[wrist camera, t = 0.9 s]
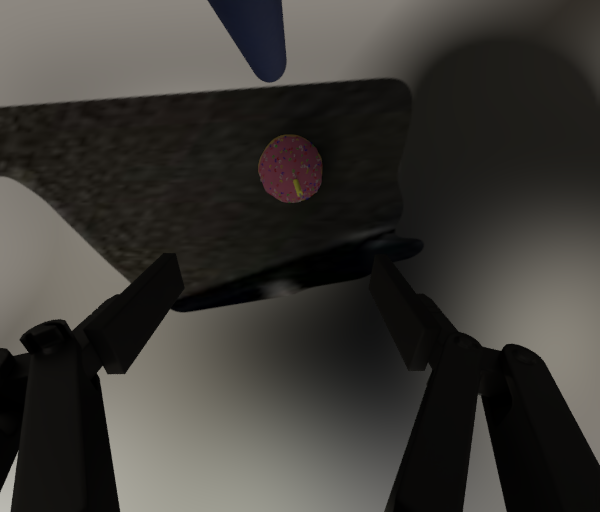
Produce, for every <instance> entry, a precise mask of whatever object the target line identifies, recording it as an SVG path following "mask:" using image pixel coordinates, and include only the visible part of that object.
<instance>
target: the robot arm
mask: <svg viewBox="0 0 600 512" xmlns="http://www.w3.org/2000/svg"><path fill="white" fill-rule="evenodd" d="M183 290H184V284H183V280H182V276H181V273H180V269H179V265H178V261H177V257H176V253H163V254H162V255H161V256H160V257H159V258H158V259H157V260H156V261H155V262H154V263H153V264H152V265H151V266H150V267H148V268H147V269H146V270H145V271H144V272H143V273H142V274H141V275H140V276H139V277H138V278H137V279H136V280H135V281H134V282H133V283H131V284H130V285H129V286H128V287H127V288H126V289H125V290H124V291H123V292H122V293H121V294H117V295H114V296H113V297H111V298H109V299H107V300H106V301H105V302H104V303H102V304H101V305H100V306H99V307H98V309H96V310H95V311H94V312H93V313H92V314H91V315H89V316H88V317H87V318H86V319H85V320H84V321H83V322H81V323H80V324H79V325H78V326H77V327H76V328H75V329H74V330H73V331H71V329H70V328H69V326H68V324H67V323H66V321H65V320H61V319H60V320H51V321H47V322H44V323H42V324H39V325H37V326H35V327H33V328H31V329H30V330H28V331H27V332H26V333H24V334H23V335H22V337H21V338H20V341H21V343H22V344H23V345H24V346H25V348H26V349H27V351H28V352H29V353H25V354H21V355H16V356H13V355H12V354H11V353H10V352H9V351H8V350H7V349H4V348H0V492H1V489H2V487H3V485H4V482H5V480H6V478H7V475H8V473H9V471H10V468H11V466H12V464H13V462H14V459H15V457H16V454H17V452H18V459H17V466H16V475H15V483H14V490H13V498H12V505H11V512H120V508H119V501H118V495H117V488H116V482H115V475H114V469H113V463H112V456H111V449H110V443H109V437H108V430H107V424H106V417H105V411H104V404H103V398H102V391H101V385H100V378H99V376H98V375H97V372H98V371H99V370H100V368H101V367H102V366H104V368H105V370H106V372H107V374H125V373H126V372H127V370H128V369H129V367H130V366H131V364H132V363H133V362H134V360H135V359H136V357H137V356H138V354H139V353H140V352H141V350H142V349H143V347H144V346H145V344H146V343H147V341H148V340H149V339H150V337H151V336H152V334H153V333H154V331H155V330H156V328H157V327H158V326H159V324H160V323H161V321H162V320H163V318H164V317H165V315H166V314H167V313H168V311H169V310H170V308H171V307H172V305H173V304H174V303H175V301H176V300H177V298H178V297H179V295H180V294H181V292H182V291H183ZM369 290H370V292H371V294H372V296H373V298H374V300H375V302H376V304H377V306H378V309H379V311H380V313H381V315H382V317H383V319H384V321H385V323H386V325H387V327H388V329H389V331H390V333H391V336H392V338H393V339H394V342H395V343H396V346H397V348H398V350H399V352H400V354H401V356H402V358H403V360H404V362H405V364H406V366H407V369H408V371H424V370H425V368H426V366H427V363H429V364H430V366H431V368H432V373H431V375H430V377H429V379H428V382H427V387H426V390H425V393H424V395H423V398H422V401H421V404H420V407H419V410H418V413H417V416H416V419H415V422H414V425H413V428H412V431H411V434H410V437H409V440H408V443H407V446H406V449H405V452H404V455H403V458H402V461H401V464H400V466H399V470H398V473H397V475H396V479H395V481H394V484H393V487H392V490H391V493H390V496H389V499H388V502H387V505H386V508H385V511H384V512H463V505H464V497H465V489H466V481H467V474H468V466H469V458H470V451H471V443H472V435H473V427H474V420H475V412H476V404H477V396H478V395H481V398H482V402H483V407H484V411H485V416H486V420H487V424H488V429H489V434H490V438H491V443H492V447H493V452H494V456H495V461H496V465H497V470H498V474H499V479H500V483H501V488H502V492H503V496H504V501H505V506H506V510H507V512H600V465H599V463H598V461H597V460H596V458H595V456H594V454H593V452H592V450H591V448H590V446H589V445H588V443H587V441H586V439H585V437H584V435H583V433H582V431H581V429H580V428H579V426H578V424H577V422H576V420H575V418H574V416H573V415H572V413H571V411H570V409H569V407H568V405H567V403H566V401H565V400H564V398H563V396H562V394H561V392H560V390H559V388H558V387H557V385H556V383H555V381H554V379H553V377H552V376H551V373H550V372H549V370H548V368H547V366H546V364H545V362H544V361H543V360H542V359H541V357H539V356H538V355H537V354H536V353H534V352H533V351H531V350H529V349H527V348H525V347H523V346H520V345H515V344H506V345H505V346H504V347H503V349H502V351H499V350H494V349H490V348H486V347H482V346H481V344H480V343H479V342H478V341H477V340H476V339H474V338H473V337H471V336H469V335H467V334H464V333H461V332H458V331H457V329H456V328H455V327H454V326H453V324H452V323H451V322H450V321H449V320H448V318H447V317H446V316H445V315H444V314H443V313H442V311H441V310H440V309H439V308H438V307H437V305H436V304H435V303H434V301H433V300H432V299H430V298H429V297H427V296H426V295H425V294H416V293H415V292H414V290H413V289H412V288H411V286H410V285H409V284H408V282H407V281H406V280H405V278H404V277H403V276H402V274H401V273H400V272H399V270H398V269H397V268H396V267H395V265H394V264H393V263H392V261H391V260H390V259H389V257H388V256H387V255H375V258H374V263H373V268H372V273H371V279H370V284H369ZM18 450H19V451H18Z"/></svg>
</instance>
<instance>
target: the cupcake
mask: <svg viewBox="0 0 600 512" xmlns="http://www.w3.org/2000/svg"><path fill="white" fill-rule="evenodd" d="M258 171H259V176H260V178H261V179H260V181H262V183H263V186H264V188H265V190H266V191H267V192H268V193H269V194H270V195H272V196H274V197H275V198H277V199H278V200H280V201H281V202H287V203H295V202H301V201H303V200H305V199H307V198H309V197H311V196H312V195H314V194H315V193H317V190H318V189H319V187H320V185H321V182H322V180H321V177H322V159H321V157H320V155H319V153H318V151H317V149H316V147H315V146H314V145H313V144H312V143H311V142H310V141H308V140H307V139H305V138H303V137H301V136H298V135H281V136H278V137H277V138H275V139H273V140H272V141H271V142H270V143H269V144H268V146H267V147H266V149H265V150H264V152H263V154H262V156H261V158H260V160H259V164H258Z"/></svg>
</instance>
